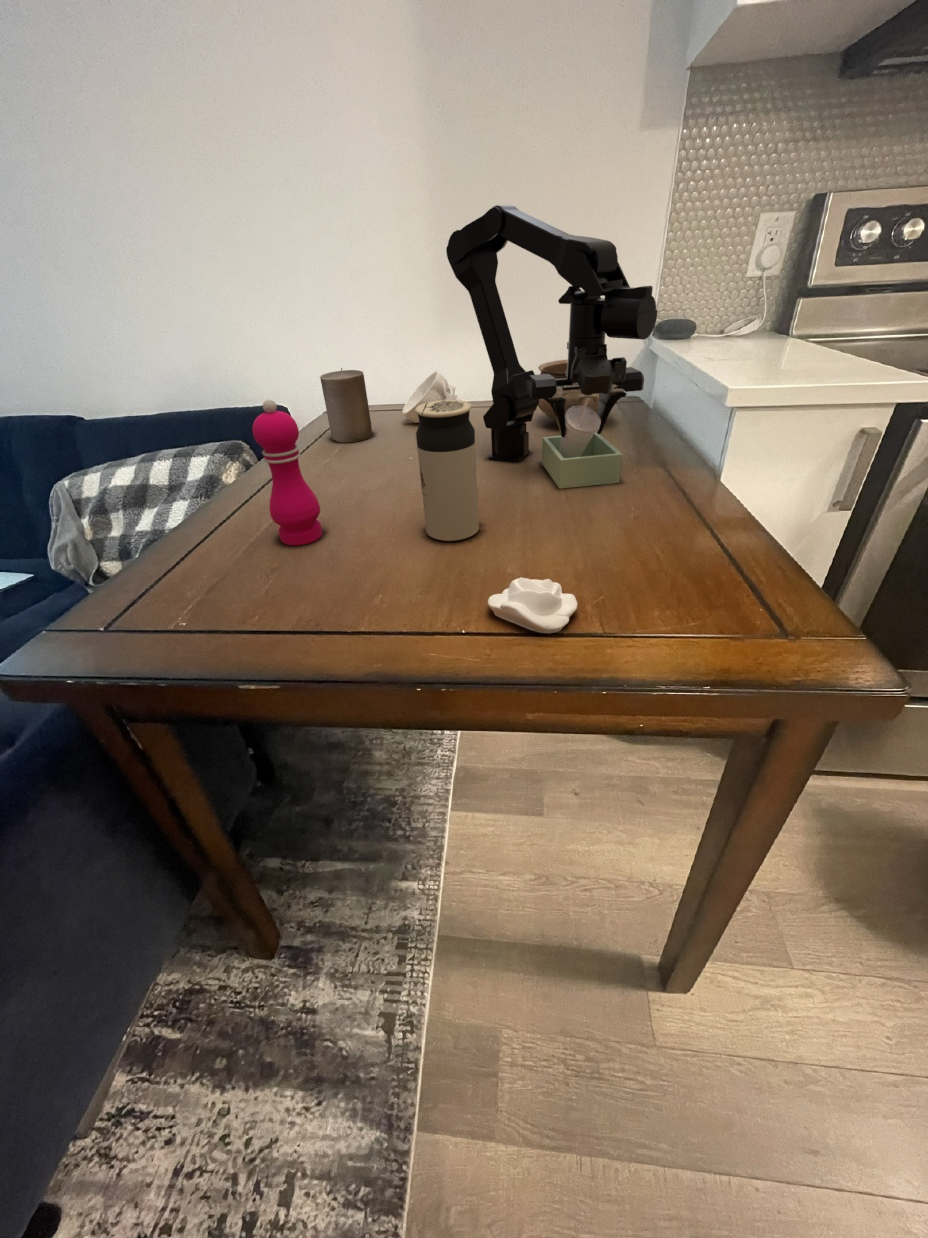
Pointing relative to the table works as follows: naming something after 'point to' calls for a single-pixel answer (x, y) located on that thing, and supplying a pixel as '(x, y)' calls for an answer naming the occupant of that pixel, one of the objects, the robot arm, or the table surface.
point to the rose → (534, 605)
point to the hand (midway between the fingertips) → (580, 435)
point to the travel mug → (448, 469)
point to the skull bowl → (429, 394)
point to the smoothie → (578, 430)
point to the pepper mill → (287, 477)
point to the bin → (582, 463)
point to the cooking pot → (571, 396)
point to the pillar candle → (347, 405)
